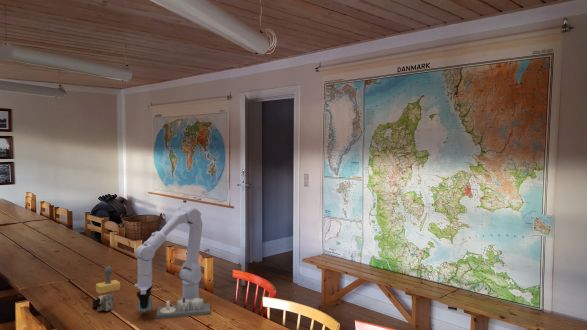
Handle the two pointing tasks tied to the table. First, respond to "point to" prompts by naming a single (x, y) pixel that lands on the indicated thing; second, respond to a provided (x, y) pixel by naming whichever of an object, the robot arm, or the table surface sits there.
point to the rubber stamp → (107, 283)
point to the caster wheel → (104, 302)
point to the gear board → (184, 308)
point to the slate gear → (147, 305)
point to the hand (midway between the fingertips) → (144, 305)
